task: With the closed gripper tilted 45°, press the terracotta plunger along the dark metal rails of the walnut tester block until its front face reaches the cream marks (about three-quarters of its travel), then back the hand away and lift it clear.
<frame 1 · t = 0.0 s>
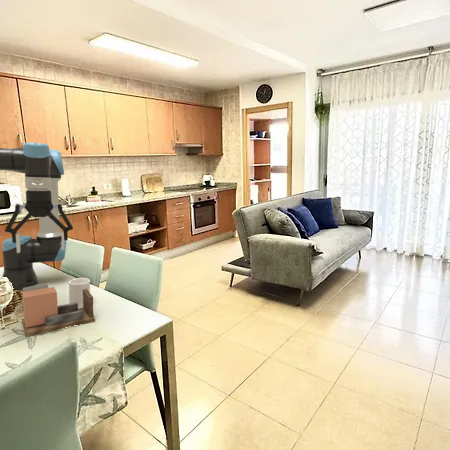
hand: (41, 250, 113), 28 cm above the table, tool pointing down, fingers open, 13 cm apart
tester block: (62, 321, 121), on the table
electrical switch: (36, 307, 132), on the table
mug: (78, 301, 139), on the table
plunger: (40, 306, 116), point 8 cm above the table, slide at 0.0 cm
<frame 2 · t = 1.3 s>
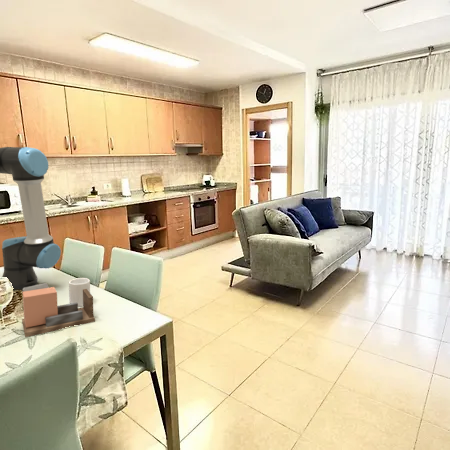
nothing on the table moved.
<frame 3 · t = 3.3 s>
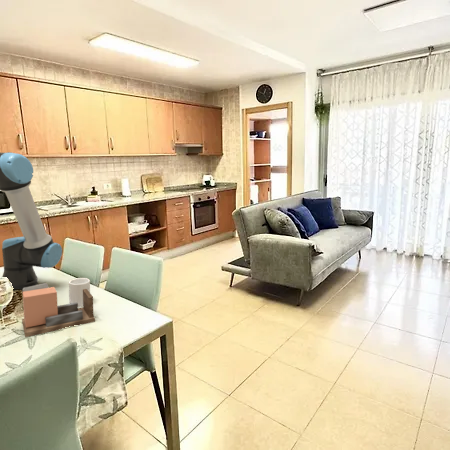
nothing on the table moved.
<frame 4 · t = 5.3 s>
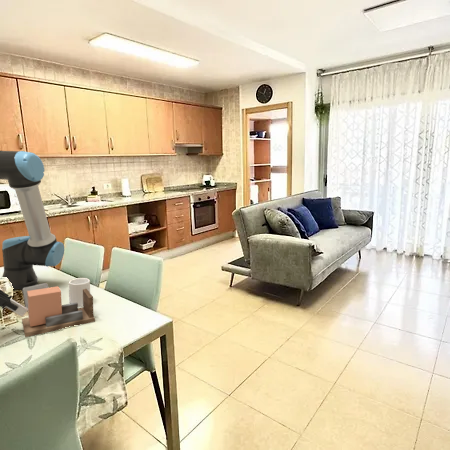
hand: (24, 312, 113), 6 cm above the table, tool tilted 45°, fingers closed
plunger: (44, 305, 116), point 8 cm above the table, slide at 1.4 cm, touching gripper
everything else where it was.
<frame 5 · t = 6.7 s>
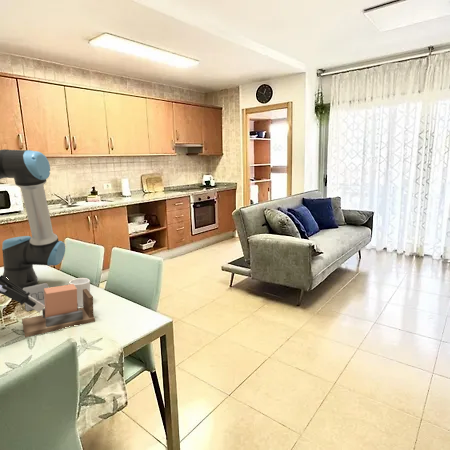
hand: (41, 308, 116), 7 cm above the table, tool tilted 45°, fingers closed
plunger: (60, 302, 119), point 8 cm above the table, slide at 6.6 cm, touching gripper
everything else where it was.
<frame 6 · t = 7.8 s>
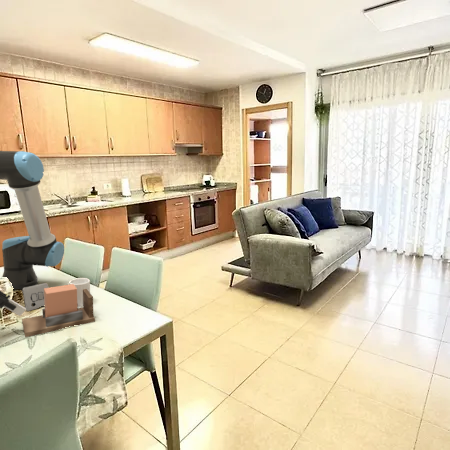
hand: (22, 312, 112), 7 cm above the table, tool tilted 45°, fingers closed
plunger: (61, 302, 119), point 8 cm above the table, slide at 6.6 cm
everything else where it was.
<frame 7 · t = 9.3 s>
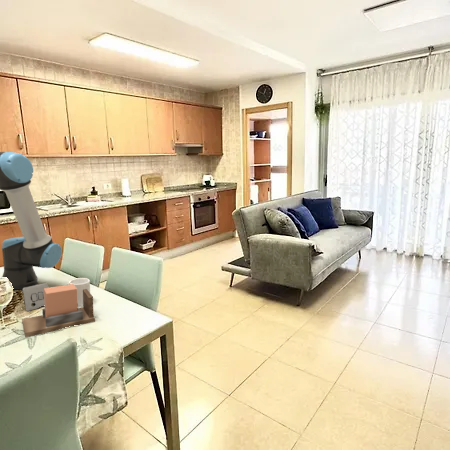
nothing on the table moved.
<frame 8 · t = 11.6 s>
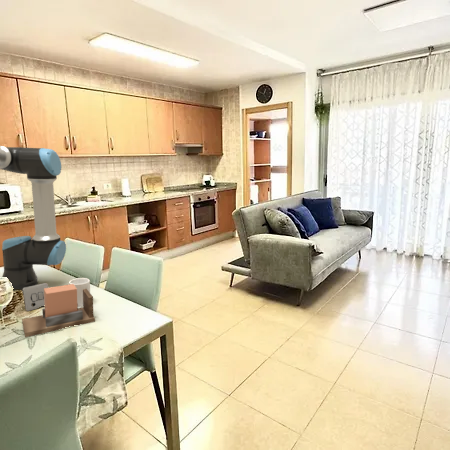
nothing on the table moved.
at the end: plunger slide at 6.6 cm; the gripper is holding nothing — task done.
